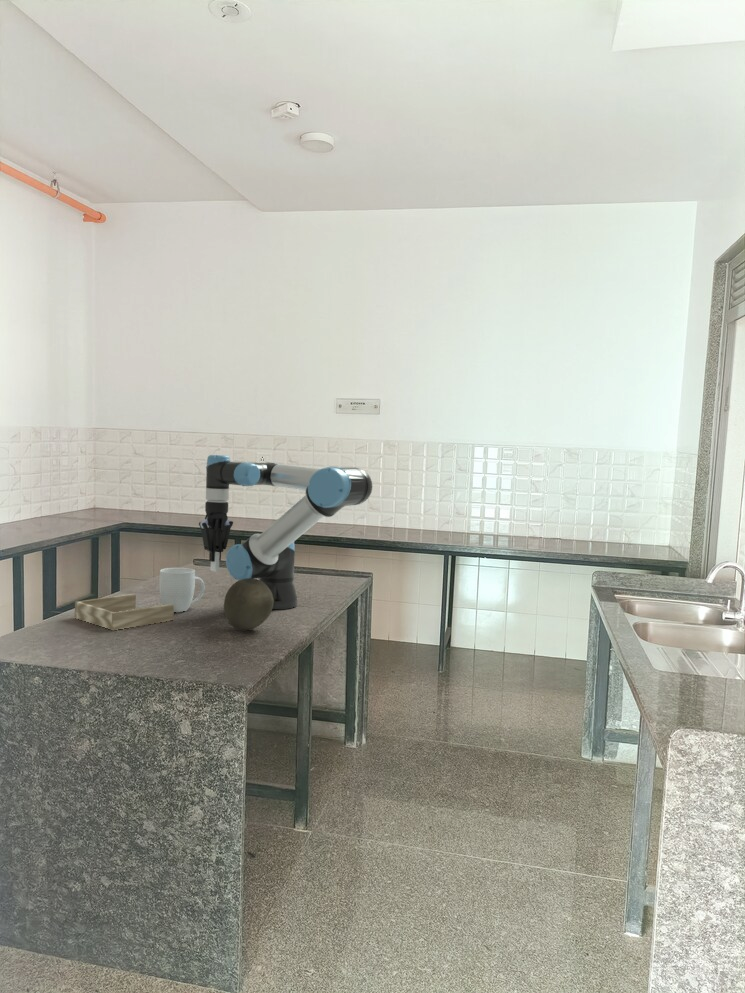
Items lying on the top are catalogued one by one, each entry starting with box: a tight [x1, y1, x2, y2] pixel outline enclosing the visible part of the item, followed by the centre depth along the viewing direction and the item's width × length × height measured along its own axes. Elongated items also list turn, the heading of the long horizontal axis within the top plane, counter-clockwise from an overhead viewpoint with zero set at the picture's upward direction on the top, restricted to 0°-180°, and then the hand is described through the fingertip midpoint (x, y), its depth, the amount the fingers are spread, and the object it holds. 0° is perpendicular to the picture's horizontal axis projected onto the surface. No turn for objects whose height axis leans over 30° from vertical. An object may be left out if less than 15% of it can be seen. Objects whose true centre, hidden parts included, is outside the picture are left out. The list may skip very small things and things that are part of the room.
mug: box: [158, 567, 205, 613], centre depth 236 cm, size 15×11×13 cm
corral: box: [74, 593, 174, 631], centre depth 220 cm, size 21×20×5 cm
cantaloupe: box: [223, 578, 274, 631], centre depth 214 cm, size 14×14×15 cm
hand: (214, 570), depth 246 cm, fingers closed
